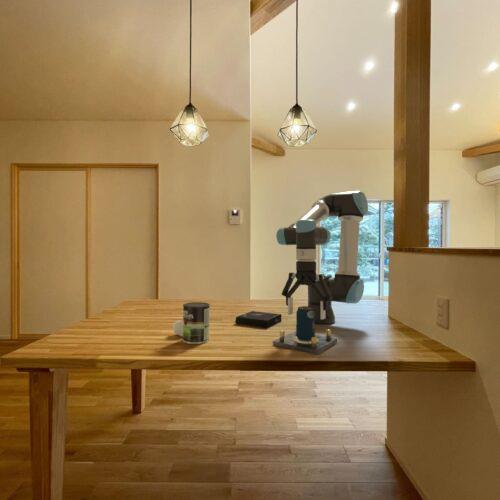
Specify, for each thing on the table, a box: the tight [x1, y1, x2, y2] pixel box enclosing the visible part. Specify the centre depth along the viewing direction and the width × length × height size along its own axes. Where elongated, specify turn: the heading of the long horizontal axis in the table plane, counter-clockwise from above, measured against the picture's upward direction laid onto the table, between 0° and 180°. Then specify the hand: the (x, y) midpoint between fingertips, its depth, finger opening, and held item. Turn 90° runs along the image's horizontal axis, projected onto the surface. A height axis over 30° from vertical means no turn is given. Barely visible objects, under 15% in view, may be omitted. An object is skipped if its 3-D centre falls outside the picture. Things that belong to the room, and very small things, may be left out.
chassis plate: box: [272, 328, 338, 355], centre depth 120 cm, size 18×18×5 cm
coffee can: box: [182, 301, 211, 345], centre depth 124 cm, size 10×10×14 cm
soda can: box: [295, 305, 316, 341], centre depth 120 cm, size 7×7×12 cm
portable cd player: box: [234, 310, 282, 329], centre depth 155 cm, size 16×17×4 cm
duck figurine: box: [172, 311, 183, 337], centre depth 133 cm, size 12×8×11 cm
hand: (306, 316), depth 121 cm, fingers open, 13 cm apart
